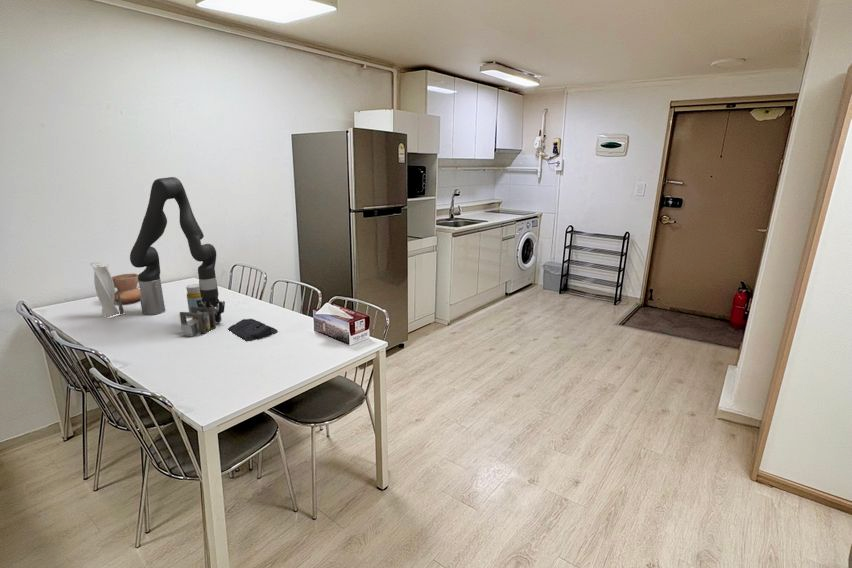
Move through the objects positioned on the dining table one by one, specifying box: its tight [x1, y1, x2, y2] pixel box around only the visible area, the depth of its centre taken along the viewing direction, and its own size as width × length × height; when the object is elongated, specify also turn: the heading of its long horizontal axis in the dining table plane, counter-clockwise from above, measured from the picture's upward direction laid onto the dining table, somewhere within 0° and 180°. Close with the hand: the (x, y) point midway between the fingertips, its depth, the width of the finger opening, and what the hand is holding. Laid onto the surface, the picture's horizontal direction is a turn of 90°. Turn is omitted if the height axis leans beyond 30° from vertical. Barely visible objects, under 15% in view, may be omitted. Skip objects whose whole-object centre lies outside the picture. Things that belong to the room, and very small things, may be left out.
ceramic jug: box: [111, 272, 141, 304], centre depth 235 cm, size 18×14×14 cm
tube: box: [180, 312, 223, 337], centre depth 201 cm, size 20×5×5 cm, turn 168°
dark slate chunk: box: [227, 318, 279, 342], centre depth 199 cm, size 15×22×5 cm
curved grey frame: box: [179, 307, 217, 335], centre depth 199 cm, size 11×8×10 cm
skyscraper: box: [89, 261, 125, 318], centre depth 213 cm, size 8×8×28 cm
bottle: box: [186, 283, 204, 314], centre depth 217 cm, size 7×7×15 cm
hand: (213, 321), depth 209 cm, fingers closed on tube, 5 cm apart
